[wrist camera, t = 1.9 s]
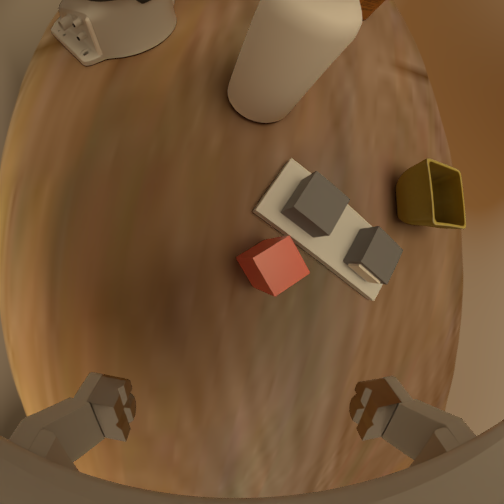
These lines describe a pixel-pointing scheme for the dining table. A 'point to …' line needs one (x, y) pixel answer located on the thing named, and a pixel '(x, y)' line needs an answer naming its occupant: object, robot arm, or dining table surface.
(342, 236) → the grey cubes on base
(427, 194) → the flower pot
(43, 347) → the dining table surface
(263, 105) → the alcohol
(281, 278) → the tall red square pillar
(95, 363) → the dining table surface
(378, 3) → the coffee package
